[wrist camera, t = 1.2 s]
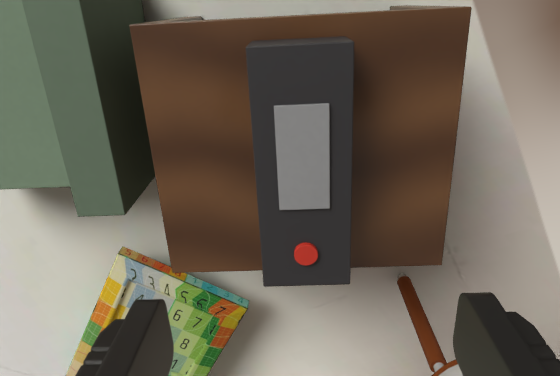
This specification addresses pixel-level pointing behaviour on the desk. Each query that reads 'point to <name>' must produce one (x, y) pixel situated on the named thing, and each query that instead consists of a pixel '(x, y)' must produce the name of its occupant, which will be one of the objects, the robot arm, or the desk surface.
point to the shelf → (366, 130)
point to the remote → (303, 157)
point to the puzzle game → (180, 306)
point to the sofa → (73, 102)
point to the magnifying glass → (425, 331)
